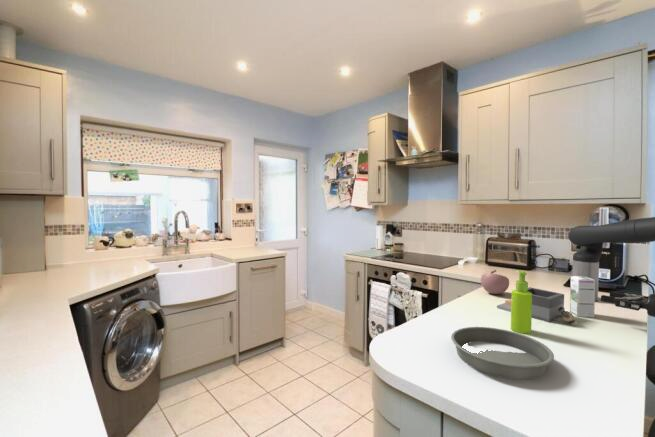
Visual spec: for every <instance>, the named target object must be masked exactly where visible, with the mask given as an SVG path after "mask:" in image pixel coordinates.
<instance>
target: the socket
mask: <svg viewBox="0 0 655 437" xmlns="http://www.w3.org/2000/svg"><path fill="white" fill-rule="evenodd" d="M528 292H531V293H532V318H531V319H535V320H540V321H543V322H545V323H550V322H553V321H556V320H558V319H560V318H562V317H561V312H559V311H557V309H558V308H559V307H563V308H564V309H565V293H561V292H556V291H551V290H546V289H542V288H535V287H529V286H528ZM504 301H505V302H504V303H500V304H497V305H496V308H497V309H499V310H504V311H507V312H510V313H511V299H509V298H508V299H506V300H504ZM556 307H557V308H556Z"/></svg>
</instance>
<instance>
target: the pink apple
mask: <svg viewBox="0 0 655 437" xmlns="http://www.w3.org/2000/svg"><path fill="white" fill-rule="evenodd" d="M496 272H497V269H493V270H490V271H489V273H484V274H482V275H481V277H480V284H481V286H482V288H483V289H484V290H485V291H486V292H487V293H489V294H492V295H500V294H503V293H506V291H507V290H508V288H509V286H510V279H509V278H508V277H507V276H504V275H501V274H498V273H496Z"/></svg>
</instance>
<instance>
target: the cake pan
mask: <svg viewBox="0 0 655 437" xmlns="http://www.w3.org/2000/svg"><path fill="white" fill-rule="evenodd" d="M450 338H451V341H452V343H453V344H454V345H455V349H456V354H457V355H458V357H459V358H460V360H461V361H463V363H465V364H466V363H467V365H468V366H470V367H471V368H473V369H476V370H477V371H480V372H483V373H485V374H487V375H492V376H495V377H499V376H500V377H499V378H503V377H504V379H510V380H511V379H512V380H532V379H537V378H540V377H541V376H543V375H544V374H545V372H546V369H547V366H548V365H550V364H551V363H553V361H554V358H555V356H554V355H555V354H554V353H553V351H552V349H551V348H549V347H548V346H547V345H546V344H544V343H542V342H541V341H539V340H537V339H535V338H533V337H530V336H528V335H526V334H522V333H517V332H514V331H512V330H507V329H503V328H495V327H490V326H489V327H487V326H468V327H463V328H459V329H457V330H454V331H453V333H451V336H450ZM469 342H472V343H489V344H490V343H491V344H499V345H501V346H502V345H503V346H506V347H507V346H508V347H510V348H514V349H516V350H520V351H522V352H517V351H516V352H512V351H500V350H494V349H490V350H491V351H488V350H489V349H487V350H486V351H485V352H483V351H480V352H482V353H480V352H479V353H478V354H477V353H471V352H469V351H467V350H466V349H464V348H462V346H463V345H464V344H466V343H468V344H470V343H469ZM493 350H494V351H493Z"/></svg>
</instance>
